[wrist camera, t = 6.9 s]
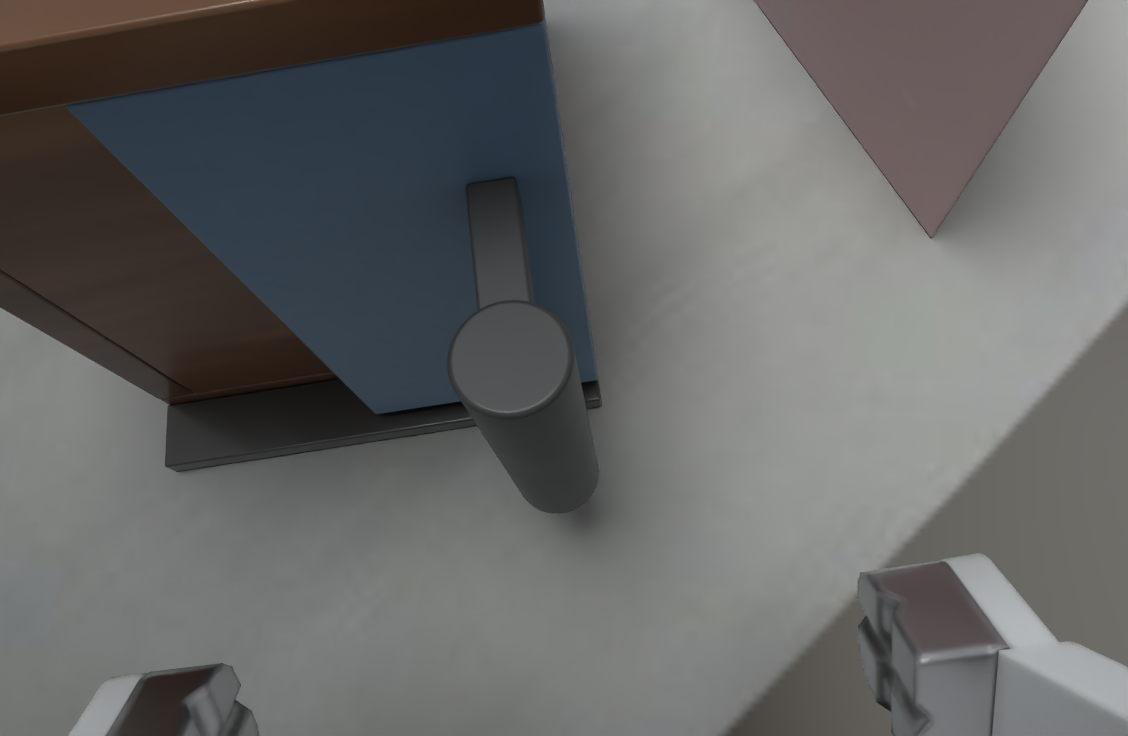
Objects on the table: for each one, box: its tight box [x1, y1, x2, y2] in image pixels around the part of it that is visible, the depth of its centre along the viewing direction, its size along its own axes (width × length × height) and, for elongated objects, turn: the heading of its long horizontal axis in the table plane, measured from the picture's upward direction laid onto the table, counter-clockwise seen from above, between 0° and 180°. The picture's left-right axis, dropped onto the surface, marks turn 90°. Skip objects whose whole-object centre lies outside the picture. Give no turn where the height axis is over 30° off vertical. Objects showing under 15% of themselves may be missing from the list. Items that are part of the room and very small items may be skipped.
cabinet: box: [0, 0, 602, 471], centre depth 18 cm, size 14×12×15 cm
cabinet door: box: [66, 17, 599, 513], centre depth 15 cm, size 5×6×13 cm
